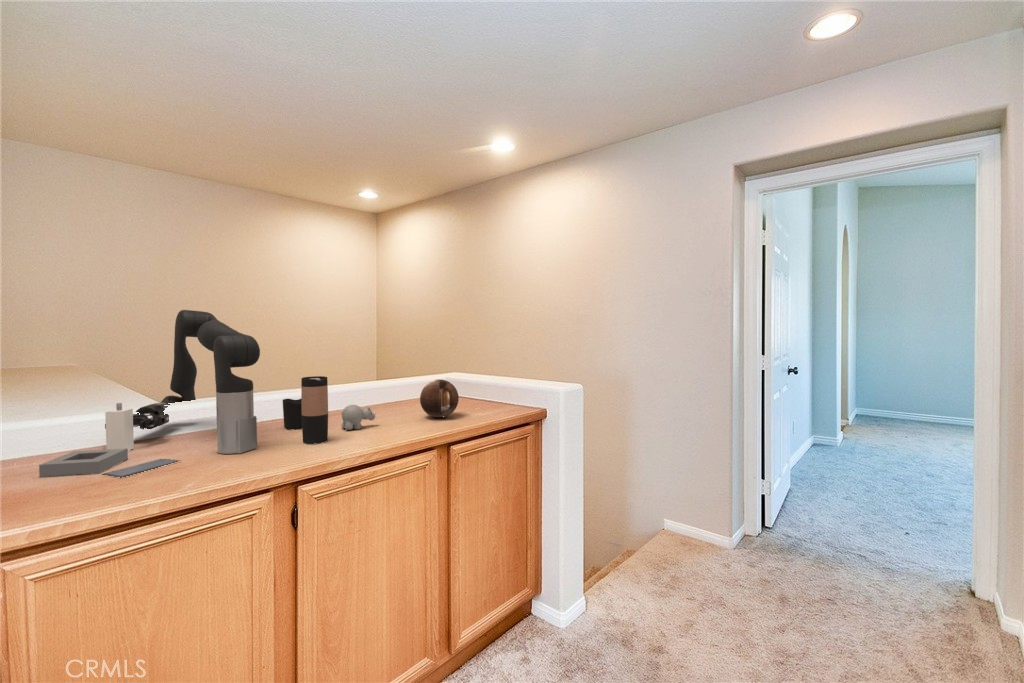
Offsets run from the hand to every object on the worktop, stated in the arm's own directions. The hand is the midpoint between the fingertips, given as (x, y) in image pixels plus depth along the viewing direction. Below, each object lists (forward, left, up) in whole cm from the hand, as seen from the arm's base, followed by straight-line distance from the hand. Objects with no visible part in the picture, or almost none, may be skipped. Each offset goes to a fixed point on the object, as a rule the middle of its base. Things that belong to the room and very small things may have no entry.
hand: (124, 426), depth 132 cm
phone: (-23, +11, -8) cm, 26 cm away
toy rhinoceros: (-48, -44, -7) cm, 66 cm away
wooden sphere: (-67, -69, -7) cm, 97 cm away
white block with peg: (-1, +2, -7) cm, 7 cm away
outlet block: (-9, +15, -7) cm, 19 cm away
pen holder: (-26, -39, -7) cm, 48 cm away
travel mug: (-46, -24, -7) cm, 52 cm away
